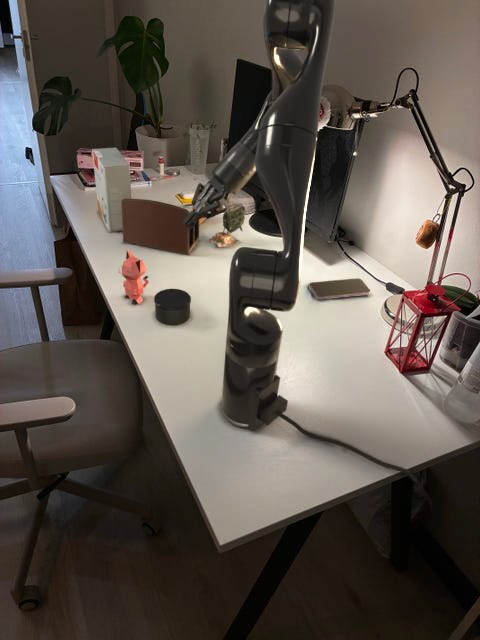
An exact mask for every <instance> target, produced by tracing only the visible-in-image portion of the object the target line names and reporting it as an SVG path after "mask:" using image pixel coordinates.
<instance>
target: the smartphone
mask: <svg viewBox="0 0 480 640" xmlns="http://www.w3.org/2000/svg"><path fill="white" fill-rule="evenodd" d="M308 288H309V289H310V291H311V292H312V294H313V296H314V297H315V298H316V299H317V300H327V299H340V298H350V297H359V296H368V295H370V294H371V289H370V288H369V286H368V285H367V284H366V283H365V281H364V280H363V279H362V278H357V277H356V278H346V279H345V278H344V279H335V280H321V281H312V282H309V284H308Z"/></svg>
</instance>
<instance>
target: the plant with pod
mask: <svg viewBox="0 0 480 640" xmlns="http://www.w3.org/2000/svg"><path fill="white" fill-rule="evenodd" d="M226 207H227V210H226V211H225V212H223V214H222V226H223V231H219V232H216V233H215V235H212V236H211V237H210V238H208V241H209V242H210V241H211V243H212V244H213V245H214V246H215V248H227V247H234V245H235V244H237V243H238V242H239V239H236V238H234V237H233V236H231V235H232V234H233V233H234V232H237V230H240V231H241V233H243V225H244V224H245V220H246V218H245V217H246V216H245V214H246V205H245V204H243V203H241V202H235V203H231V204H230V197H229V198H228V199H227V201H226ZM225 231H226V232H225Z"/></svg>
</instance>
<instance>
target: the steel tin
mask: <svg viewBox="0 0 480 640" xmlns="http://www.w3.org/2000/svg"><path fill="white" fill-rule="evenodd" d="M153 298H154V299H153V301H154V314H155V315H154V316H155V319H156V321H158V323H160V324H162V325H166V326H181V325H184V324H185V323H187V322H188V321H189V320H190V317H191V302H192V296H191V295H190V293H189V292H187V291H186V290H184V289H180V288H166V289H162V290H160V291H158V292H157V293H156V294H155V295H154V297H153Z"/></svg>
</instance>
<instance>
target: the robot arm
mask: <svg viewBox="0 0 480 640" xmlns="http://www.w3.org/2000/svg"><path fill="white" fill-rule="evenodd" d="M336 9H337V0H265V4H264V11H263V38H264V43H265V44H264V45H265V49H266V53H267V54H266V55H267V58H268V62H269V66H270V71H271V72H270V73H271V90H270V91H269V93H268V95H267V96H266V98H265V100H264V102H263V104H262V107H261V109H260V111H259V113H258V115H257V116H256V118H255V120H254V122H253V123H252V125H251V126H250V127H249V129H248V131H247V132H245V134H244V135H243V136H242V137H241V138H240V140H239V141H238V142H237V143H236V144H234V146H232V147H231V148H230V150H228V151H227V152H226V154H225V155H224V157H222V159H221V160H220V161H218V163H217V164H216V166H215V167H214V168H213V169H212V170H211V174H212V176H213V177H212V178H211V179H209V180H208V181H207V182H206V184H202V183H201V182H199V183H198V184H197V186H196V188H195V191H194V194H193V196H192V199H191V203H190V204H192V205H193V206H191V207H192V208H191V210H190V211H191V212H190V213H189V215H188V216H187V217H186V218H185V219H184V220H183V223H184V224H185V226H187V227H188V228H189V229H192V228H193V227H194V226H195V224H196V223H197V222H198V221H199V220H200V219H201V218H205V219H206V220H210V219H211V218H214V217H216V216H218V215H220V214H222V213H223V214H224V212H225V211H226V210H227V205H226V202H227V201H228V198H229V199H230V195H231V194H233V195H237V194H238V193H239V192H240V191H241V190H242V189H243V187H245V185H246V184H247V183H248V182H249V181H250V180H251V178H252V177H253V176H254V175H255V174H257V177H258V180H259V182H260V184H261V187H262V188H263V191H264V193H265V194H266V197H267V199H268V201H269V202H270V204H271V206H272V209H273V211H274V214H275V217H276V220H277V223H278V225H279V229H280V233H281V238H282V245H283V250H274V249H267V248H257V247H250V246H240V247H239V248H237V249H236V250H235V252H234V254H233V255H232V258H231V262H230V267H229V274H228V275H229V276H228V277H229V278H228V314H227V315H228V317H227V328H226V340H225V351H224V362H223V363H224V364H223V365H224V366H223V379H222V391H221V393H222V394H221V401H220V413H221V415H222V417H223V418H224V419H225V420H226V422H228V423H229V424H231V425H233V426H235V427H237V428H242V429H243V428H244V429H249V430H251V431H252V432H254V431H256V430H257V429H258V428H260V427H261V426H262V425H265V426H269V425H270V424H272V422H274V421H275V420H277V419H278V417H279V418H281V419H282V420H284V421H285V422H287V423H289V424H290V425H291V426H293V427H294V428H295V429H296V430H297V431H299V433H300V434H301V433H302V434H303V435H304V436H307V437H309V438H312V439H315V440H319V441H322V442H326V443H330V444H334V445H337V446H339V447H342V448H344V449H347V450H349V451H350V452H351V451H352V452H354V453H355V454H357V455H359V456H361V457H363V458H365V459H367V460H369V461H371V462H373V463H375V464H377V465H379V466H382V467H384V468H387V469H390V470H394V471H398V472H400V473H403V474H404V475H406V476H408V477H409V478H410V479H411V481H412V482H414V483H418V482H419V481H418V480H419V479H417V477H416V475H415V474H414V473H412V472H411V471H410V470H409V469H406V468H405V467H402V466H399V465H397V464H396V465H395V464H392V463H388V462H385V461H383V460H380V459H378V458H376V457H374V456H372V455H370V454H368V453H366V452H364V451H363V450H360V449H358V448H356V447H354V446H352V445H350V444H348V443H347V442H346V443H345V442H343V441H340V440H337V439H334V438H331V437H326V436H323V435H319V434H316V433H313V432H311V431H308V430H306V429H305V428H303V427H302V426H301V425H300V424H298V423H297V422H296V421H294V420H293V419H291V418H290V417H288V416H287V415H285V414H284V413H285V412H286V411H287V407H288V402H289V400H288V399H287V398H285V397H283V396H281V394H279V389H280V382H281V376H280V375H278V374H277V370H278V365H279V364H278V363H279V357H280V353H281V346H282V339H283V331H284V330H283V326H282V325H283V324H282V323H281V321H280V320H279V318H278V317H277V316H275V315H274V314H273V313H271V312H270V311H273V312H281V313H282V312H283V313H287V312H291V311H292V310H293V309H294V307H295V306H296V304H297V301H298V297H299V294H300V286H301V279H302V266H303V256H304V255H303V254H304V253H303V252H304V240H305V228H306V216H307V207H308V201H309V193H310V187H311V182H312V176H313V170H314V163H315V157H316V151H317V150H316V149H317V141H318V131H319V122H320V111H321V100H322V94H323V86H324V80H325V75H326V69H327V64H328V57H329V52H330V47H331V42H332V37H333V32H334V26H335V20H336V11H337V10H336ZM298 51H299V52H307V55H306V57H305V59H304V61H303V58H302V57H301V56H300V55H299V54H298V53H297V52H298ZM278 394H279V395H278Z"/></svg>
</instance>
